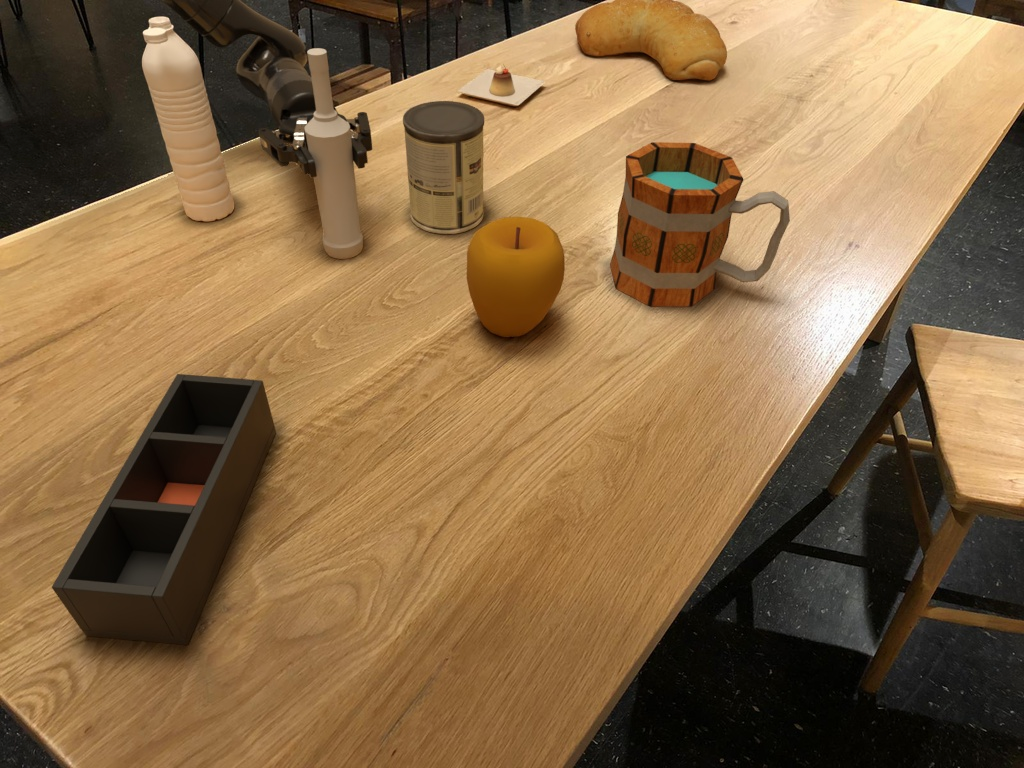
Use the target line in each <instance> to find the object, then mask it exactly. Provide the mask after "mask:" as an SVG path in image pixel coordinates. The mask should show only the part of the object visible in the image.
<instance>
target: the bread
mask: <svg viewBox="0 0 1024 768" xmlns="http://www.w3.org/2000/svg"><path fill="white" fill-rule="evenodd" d="M574 26H575V27H574V29H575V34H576V39H577V42H578V45H579V46H580V48H581V50H582V52H583V53H584V54H585V55H589V56H593V57H604V56H616V55H625V54H633V53H644V54H646V55H647V56H648V57H651V58H652V59H654V60H655V61H656V62H658V64H659V65H660V67H661V70H662V73H663V74H664V76H665V77H666V78H668V79H670V80H672V81H682V80H690V79H696V80H702V81H712V80H714V79H715V78H716V77H717V75H718V73H719V71H720V69H722V68H723V67H724V66H725V64H726V62H727V59H728V50H727V49H728V48H727V46H726V44H725V41H724V40H723V38H722V37H721V33H720V31H719V29H718V28H717V26H716V25H715V24H714V23H713V21H712V20H711V19H709V18H708V17H707V16H706V15H704V14H703V13H702V14H701V13H695V12H694V10H693V9H692V8H691V7H690V6H689V5H688V4H686V3H683V2H681V1H677V0H613V1H611V2H600V3H598V4H596V5H593V6H592V7H590V8H588V9H587V10H585V11H584V12H582V14H581V15H580V17H579V18H578V19H577V20H576V21H575V25H574Z"/></svg>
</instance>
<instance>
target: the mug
mask: <svg viewBox="0 0 1024 768" xmlns="http://www.w3.org/2000/svg"><path fill="white" fill-rule="evenodd" d="M743 182H744V177H743V175H742V173H741V172H740V169H739V168H738V166H737V164H736V162H735V160H734V159H733V157H731V156H729V155H726V154H724V153H721V152H719V151H716V150H714V149H711V148H709V147H706V146H703V145H701V144H698V143H695V142H658V141H657V142H655V141H654V142H653V141H651V142H650V143H648V144H646V145H644V146H642V147H639V148H638V149H637V150H634V151H633V152H631V153H629V154H627V155H626V156H625V178H624V185H623V191H622V196H621V199H620V204H619V208H618V211H617V223H616V236H615V244H614V248H613V249H614V250H613V253H612V255H611V260H610V263H609V266H610V270H611V275H612V279H613V283H614V288H615V289H616V290H618V291H620V292H622V293H624V294H625V295H627V296H629V297H631V298H633V299H635V300H637V301H639V302H640V303H642V304H644V305H646V306H648V307H693V306H695V305H696V304H697V303H698V302H700V301H701V300H702V299H704V298H705V297H706V296H707V295H709V294H710V293H711V292H712V291H713V290H715V288H716V287H715V286H716V280H717V272H718V273H720V274H723V275H725V276H728V277H730V278H733V280H737V281H739V282H740V283H752V282H753V283H754V282H758V281H760V280H761V279H762V278H763V276H765V275H766V274H767V273H768V272H769V270H770V269H771V267H772V265H773V262H774V260H775V258H776V256H777V254H778V250H779V246H780V244H781V241H782V239H783V236H784V234H785V233H786V231H787V228H788V226H789V224H790V221H791V218H790V217H791V216H790V205H789V200H788V199H787V198H785V196H782V195H781V194H779V193H777V191H775V190H774V191H773V190H771V191H763V192H757V193H756V194H754V195H752V196H751V197H749V198H747V199H745V200H737V197H738V194H739V192H740V189H741V187H742V185H743ZM769 204H771V205H773V206H775V207H776V208H778V209H780V214H779V222H778V223H777V225H776V227H775V229H774V231H773V233H772V235H771V237H770V238H769V242H768V245H767V248H766V251H765V254H764V257H763V260H762V263H761V264H760V265H759V266H758V267H757V268H756V269H750V270H745V269H743V268H741V267H739V266H738V265H736V264H734V263H731V262H728V261H726V260H723V259H721V256H722V254H723V251H724V248H725V246H726V244H727V241H728V238H729V234H730V228H731V220H732V215H733V214H741V215H743V214H745V213H748V212H750V211H752V210H754V209H755V208H758V206H761V205H769Z"/></svg>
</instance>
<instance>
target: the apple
mask: <svg viewBox="0 0 1024 768" xmlns="http://www.w3.org/2000/svg"><path fill="white" fill-rule="evenodd" d="M565 265H566V264H565V251H564V248H563V245H562V243H561V240H560V237H559V235H558V233H557V232H556V231H555V230H554V229H552V228H551V226H550V225H548V224H547V223H545V222H543V221H541V220H538V219H536V218H532V217H526V216H506V217H502V218H499V219H496V220H492V221H490V222H488V223H487V224H485V225H484V226H482V227H481V228H479V229H477V230H476V231H475V232H474V234H473V236H472V237H471V239H470V242H469V244H468V246H467V251H466V281H467V282H466V283H467V288H468V293H469V297H470V299H471V303H472V305H473V308H474V310H475V312H476V315H477V317H478V319H479V321H480V323H481V324H482V325H483V326H484V327H485V328H486V329H487V330H488V332H489V333H491V334H493V335H497V336H499V337H502V338H510V337H512V338H513V337H521V336H524V335H526V334H528V333H529V332H531V331H532V330H534V328H536V327H537V326H538V325H539V324H540V323H541V322H542V321H543V320H544V318H545V317H546V315H547V314H548V312H549V310H550V309H551V308H552V306H553V305H554V303H555V301H556V300H557V298H558V296H559V294H560V291H561V289H562V286H563V283H564V279H565V272H566V271H565V270H566V268H565Z"/></svg>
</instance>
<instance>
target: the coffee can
mask: <svg viewBox="0 0 1024 768" xmlns="http://www.w3.org/2000/svg"><path fill="white" fill-rule="evenodd" d="M402 124H403V128H404V141H405V153H406V167H407V181H408V182H407V183H408V193H409V194H408V195H409V206H410V207H409V208H410V213H409V217H410V220H411V221H412V223H413V224H414V225H415V226H416V227H418V229H421V230H423V231H425V232H429V233H433V234H438V235H455V234H456V235H457V234H460V233H461V234H462V233H465V232H468V231H471V230H472V229H474V228H476V227H477V226H479V225H480V224H481V222H482V221H483V219H484V215H485V213H484V156H485V155H484V126H485V115H484V113H483V112H482V111H481V110H480V109H479V108H477V107H475V106H473V105H471V104H468V103H464V102H459V101H453V100H435V101H428V102H423V103H420V104H416V105H413V106H412V107H410V108H409V109H408V110H406V111H405V112H404V114H403V116H402Z"/></svg>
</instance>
